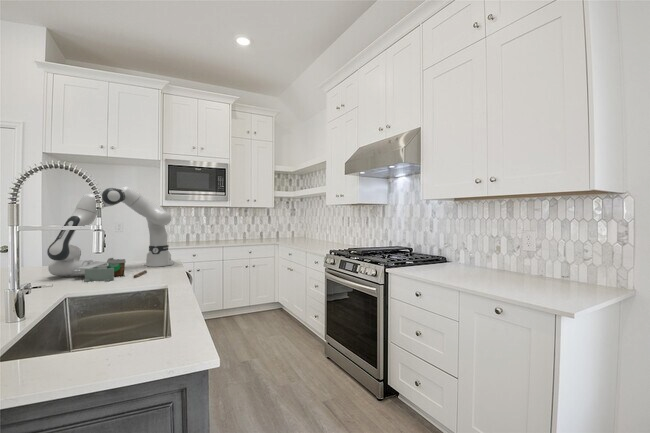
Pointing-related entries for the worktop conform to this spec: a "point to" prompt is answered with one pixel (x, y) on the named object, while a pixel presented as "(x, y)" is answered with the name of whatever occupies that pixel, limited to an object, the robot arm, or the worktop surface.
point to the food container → (117, 266)
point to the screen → (99, 275)
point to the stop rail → (140, 273)
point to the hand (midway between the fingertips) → (108, 267)
